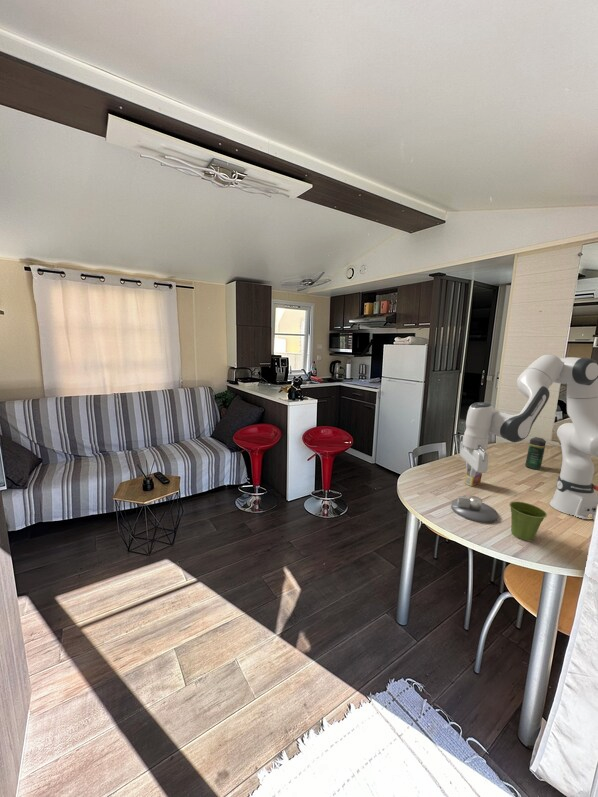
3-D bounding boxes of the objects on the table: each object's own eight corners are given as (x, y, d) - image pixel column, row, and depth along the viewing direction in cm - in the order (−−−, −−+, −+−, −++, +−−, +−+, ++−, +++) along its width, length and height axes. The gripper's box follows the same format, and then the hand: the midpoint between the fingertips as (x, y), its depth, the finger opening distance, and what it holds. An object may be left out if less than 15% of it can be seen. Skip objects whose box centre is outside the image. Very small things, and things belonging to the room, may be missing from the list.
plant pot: (534, 549, 120) (539, 520, 118) (499, 532, 129) (504, 506, 127) (546, 538, 127) (551, 511, 125) (512, 524, 136) (517, 498, 134)
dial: (478, 505, 146) (479, 496, 146) (482, 511, 141) (484, 502, 141) (455, 503, 148) (456, 494, 147) (459, 508, 143) (460, 499, 142)
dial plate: (486, 504, 152) (487, 500, 152) (505, 525, 135) (505, 521, 134) (446, 499, 154) (446, 496, 154) (458, 520, 137) (459, 516, 137)
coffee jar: (539, 471, 197) (545, 441, 194) (523, 467, 202) (529, 438, 199) (541, 467, 204) (547, 438, 201) (526, 463, 210) (531, 435, 206)
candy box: (472, 486, 170) (476, 458, 167) (464, 483, 174) (468, 456, 171) (481, 483, 175) (485, 456, 172) (473, 480, 179) (477, 453, 176)
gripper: (494, 451, 123) (489, 486, 125) (474, 436, 143) (469, 466, 145) (477, 449, 124) (471, 484, 126) (458, 434, 144) (454, 464, 146)
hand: (470, 474), depth 136 cm, fingers open, 2 cm apart
